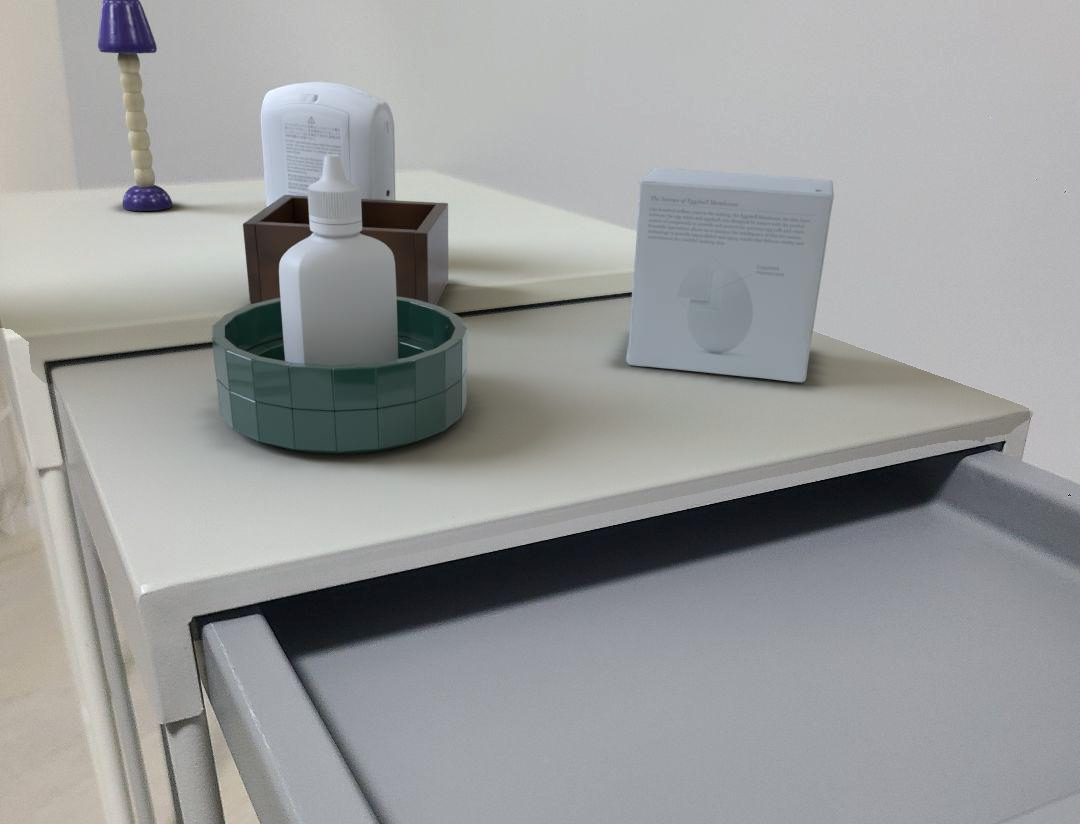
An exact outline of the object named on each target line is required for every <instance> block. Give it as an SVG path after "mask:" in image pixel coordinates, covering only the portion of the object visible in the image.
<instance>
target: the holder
mask: <svg viewBox="0 0 1080 824" xmlns="http://www.w3.org/2000/svg"><path fill="white" fill-rule="evenodd" d="M361 210H362V231H360V232H359V233H360V234H361V235H365V236H369V237H372V238H374V239H377V240H379V241H381V242H383V243H384V244H385V245H387V246H388V247H389V248H390V250H391V251H392V253H393V255H394V260H395V273H396V296H397V297H404V298H411V299H415V300H420V301H423V302H426V303H430V304H433V305H437V306H438V303H439V301H440V299H441V297H442V295H443V294H444V291H445V289H446V287H447V286H448V284H449V203H448V202H433V201H417V200H415V201H414V200H397V199H395V200H377V199H361ZM242 233H243V240H244V241H243V243H244V252H245V253H244V254H245V262H246V263H245V264H246V265H245V266H246V273H247V274H246V275H247V285H248V296H249V305H250V304H255V303H259V302H263V301H267V300H272V299H276V298H280V282H279V263H280V260H281V258H282V256H283V255H284V254H285V253H286V252H287V251H288V250H289V249H290V248H291V247H292V246H294V245H295V244H297V243H298V242H300V241H302V240H304V239H306V238H308V237H309V236H311V234H312V233H313V232H312V231H311V230H310V222H309V206H308V196H299V195H295V196H294V195H283V196H282V197H281V198H279V199H278V200H276V201H275V202H273V203H272V204H271V205H269V206H268V207H267V206H266V207H265V208H263V209H262V210H260V211H259V212H257V213H256V214H254V215H253V216H252V217H251V218H249V219H247V220H246V221H245V222H244V223H242Z"/></svg>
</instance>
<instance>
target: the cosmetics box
mask: <svg viewBox="0 0 1080 824" xmlns="http://www.w3.org/2000/svg"><path fill="white" fill-rule="evenodd" d="M834 198H835V191H834V181H833V180H832V179H823V178H813V177H810V178H809V177H808V178H807V177H799V176H798V177H796V176H780V175H768V174H754V173H753V174H752V173H737V172H726V171H725V172H724V171H711V170H710V171H709V170H697V169H696V170H695V169H683V168H672V167H671V168H669V167H654V168H652V169H651V170H650V171H649V172H648V173H647V174H646V175H645V176H644V177H643V178H642V179H641V180H640V181H639V183H638V209H637V224H636V237H635V251H634V263H633V278H632V290H631V291H632V292H631V305H630V316H629V317H630V319H629V335H628V336H629V338H628V345H627V347H626V348H627V349H626V355H625V356H626V358H625V362H626V363H627V365H629V366H634V367H635V366H636V367H645V368H647V367H649V368H657V369H658V368H659V369H667V370H678V371H688V372H698V373H706V374H716V375H726V376H738V377H747V378H756V379H757V378H759V379H765V380H766V379H767V380H775V381H783V382H791V383H804V382H805V381H806V379H807V374H808V373H807V372H808V365H809V358H810V353H811V345H812V340H813V333H814V327H815V320H816V314H817V306H818V301H819V295H820V289H821V282H822V276H823V269H824V262H825V257H826V251H827V250H826V249H827V242H828V235H829V229H830V223H831V216H832V209H833V203H834Z"/></svg>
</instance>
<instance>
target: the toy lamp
mask: <svg viewBox="0 0 1080 824" xmlns="http://www.w3.org/2000/svg"><path fill="white" fill-rule="evenodd" d="M99 18H100V20H99V30H98V39H97V48H98V50H99V52H101V53H105V54H106V53H108V54H117V65H118V69H119V71H120V72H121V73H120V76H119V82H120V83H119V84H120V86H121V89H122V91H123V94H122V103H123V107H124V109H125V110H126V112H125V115H124V118H125V124H126V127H127V129H128V130H129V131H128V134H127V138H128V140H127V141H128V143H129V146H130V148H131V152H130V157H131V161H132V165H133V167H134V171H133V178H134V182H135V184H136V185H133V186H131V187H129V188H128V189H127V190H126V191H125V193H124V195H123V199H122V208H123V209H124V210H127V211H134V212H137V211H138V212H147V211H148V212H149V211H161V210H165V209H170V208H171V207H173V201H172V198H171V196H170V195H169V193H168V192H167V190H165V189H164V188H162V187H160V186H158V185H157V184H155V182H156V175H155V172H154V171H155V170H154V169H153V168H152V166H153V155H152V152H151V150H150V146H151V137H150V135H149V134H150V133H148V131H147V129H148V119H147V115H146V113H145V112H144V111H145V106H146V105H145V97H144V95H143V93H142V90H143V80H142V77H141V75H140V73H139V72H140V69H141V62H140V58H139V55H138V54H156V53H157V50H158V48H157V43H156V41H155V37H154V35H153V31H152V29H151V26H150V24H149V20H148V18H147V16H146V13H145V9H144V8H143V5H142V3H141V1H140V0H102V2H101V8H100V17H99Z"/></svg>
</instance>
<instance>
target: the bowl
mask: <svg viewBox="0 0 1080 824" xmlns="http://www.w3.org/2000/svg"><path fill="white" fill-rule="evenodd" d="M396 298H397V331H398V359H395V360H389V361H383V362H376V363H364V364H343V365H325V364H307V363H292V362H287V361H285V353H284V340H283V327H282V313H281V299H280V298H276V299H272V300H267V301H263V302H259V303H255V304H250V303H249V304H248V305H244V306H242V307H240V308H238V309H235V310H233V311H230V312H228V313H226V314H224V315H222V317H221V318H219V319H218V320H217V321H216V322H215V323H214V324H213V325H212V326H211V341H212V342H211V343H212V351H213V361H214V369H215V379H216V389H217V397H218V406H219V415H220V417H221V419H222V420H223V421H224V422H225V423H226V424H227V425H228V426H229V427H230V428H231V429H232V430H233V431H235V432H237V433H239V434H241V435H243V436H245V437H248V438H250V439H252V440H254V441H256V442H261V443H264V444H268V445H271V446H275V447H277V448H280V449H281V448H282V449H287V450H291V451H296V452H303V453H313V454H325V455H326V454H330V455H331V454H332V455H346V454H361V453H363V454H364V453H371V452H380V451H387V450H390V449H395V448H399V447H404V446H407V445H411V444H414V443H416V442H419V441H421V440H424V439H427V438H429V437H432V436H434V435H436V434H439V433H441V432H444V431H445V430H447V429H448V428H449V427H450V426H452V425H453V424H454V423H456V422H457V421H458V420H459V419H461V417H463V414H464V411H465V409H466V405H467V401H468V400H467V399H468V398H467V397H468V396H467V395H468V394H467V390H468V389H467V387H468V386H467V384H468V383H467V382H468V379H467V377H468V369H467V368H468V367H467V366H468V328H467V326H466V325H465V323H464V321H463V320H462V318H461V317H460V315H457V314H455V313H453V312H452V311H450V310H448V309H446V308H444V307H443V306H439V305H438V304H437V305H433V304H430V303H426V302H423V301H420V300H415V299H411V298H404V297H397V296H396Z"/></svg>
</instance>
